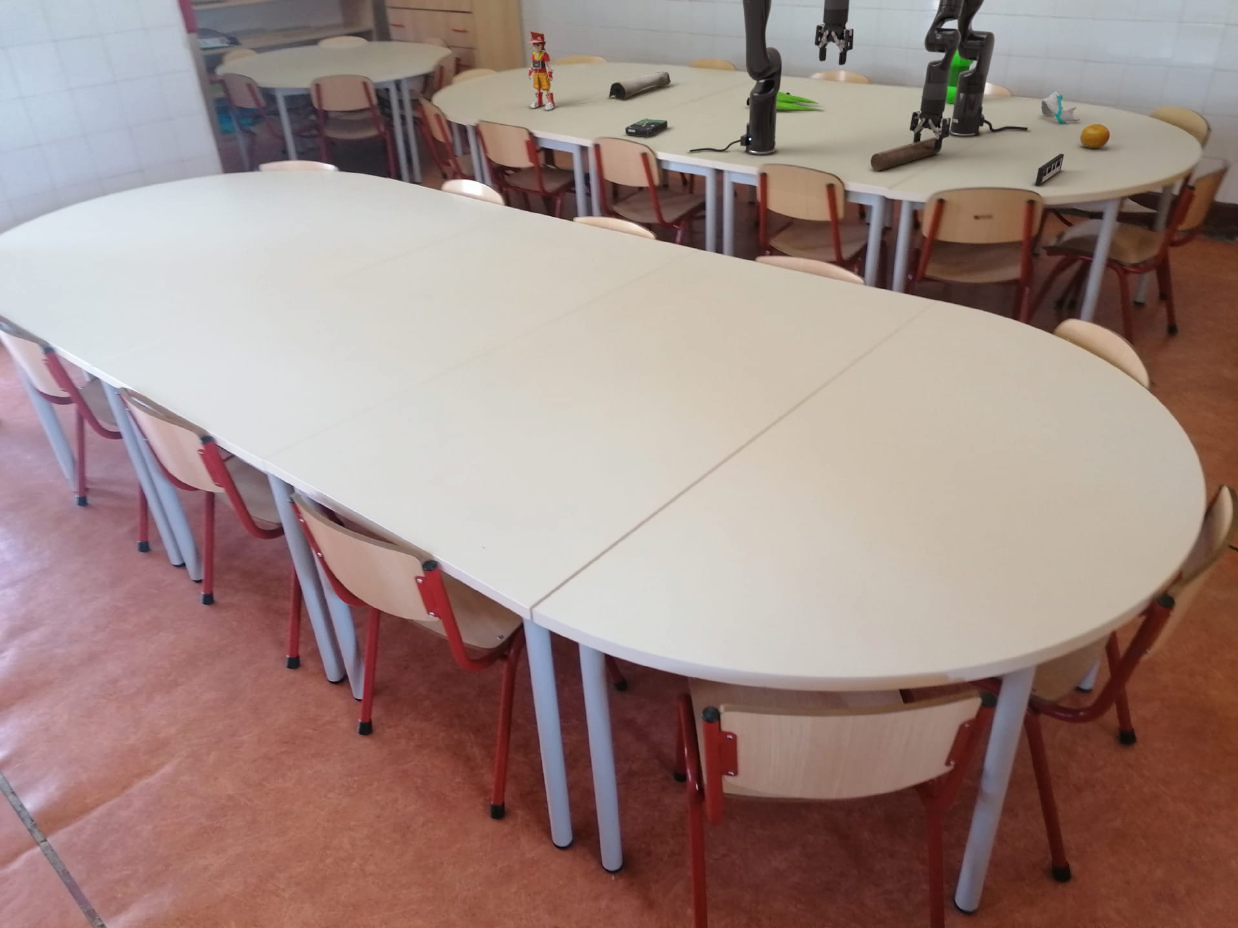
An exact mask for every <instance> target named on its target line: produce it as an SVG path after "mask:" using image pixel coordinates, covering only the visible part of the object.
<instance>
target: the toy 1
mask: <svg viewBox="0 0 1238 928" xmlns="http://www.w3.org/2000/svg"><path fill="white" fill-rule="evenodd" d="M529 33H530V35H531V36H528V37H527V38H528V39H529V40H528V41H527V43H529V44H530V43H531V44H532V48H533V50H534V51H533V52H532V55H531V58H530V59H531V63H530V66H528V74H527V75H528V76H527V77H528V79H529V80H531V75H532V74H533V84H532V85H533V86H532V87H533V88H534V89H535V90H536V92H534V95H535V97H536V100H535V101H533V102H531V105H530V108H531V109H535V108H538V107H542V106H544V101H543V100H544V99H543V95H544V92H546V94H545V97H546V99H547V103H546V104H545V106H544V110H546V111H549V110H553V109H554V107H555V106H556V105H555V99H554V92H551V91H550V90H551V86H552V84H551V82H552V81H553V80H554V77H553V73H554V71H555V70H554V69H552V68H551V63H550V61H551V59H550V58H551V57H550V54H549V53H548V52H547V50H546V48H545V46H546V44H547V41H545V35H544V33H543V32H542V33H539V32H535V31H529Z"/></svg>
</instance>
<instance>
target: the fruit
mask: <svg viewBox="0 0 1238 928" xmlns="http://www.w3.org/2000/svg"><path fill="white" fill-rule="evenodd" d="M1110 135H1111V134H1110V130H1109V128H1108V127H1107V126H1106V125H1103V124H1101V123H1100V124H1099V123H1098V124H1097V123H1094V124H1090V125H1088V126H1086V127H1084V128H1083V130H1082V131H1081V133H1080V137H1079V139H1080V143H1081V146H1083V147H1085V148H1089V149H1100V148H1101V147H1104V146H1105V145H1106V144H1107V143H1108V141H1109V139H1110V138H1111V137H1110Z"/></svg>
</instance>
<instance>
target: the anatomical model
mask: <svg viewBox="0 0 1238 928" xmlns="http://www.w3.org/2000/svg"><path fill="white" fill-rule="evenodd" d="M1063 99H1064V96H1063V94H1060V93H1059V92H1058V91H1051V93H1050V95H1049V96H1047V97H1044V98H1042V99H1041V102H1040V103H1041V104H1040V105H1041V107H1040V108H1041V113H1042V114H1043V115H1046V116H1047V115H1052V114H1053V115H1054V116H1055V118H1056V120H1057V122H1058V123H1059V124H1066V123H1068V122H1078V121H1080V120H1081V118H1080V117H1079V116H1078V117H1077V116H1074V115H1073V114H1074V111H1076V110H1077V109H1078V108H1077V106H1072V107H1070V108H1068V109H1064V107H1063V105H1062V100H1063Z"/></svg>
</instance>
